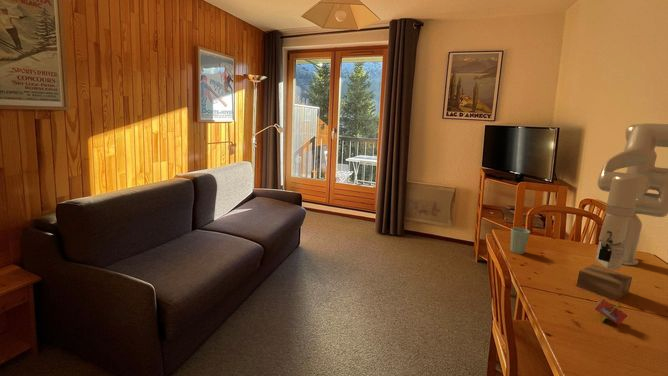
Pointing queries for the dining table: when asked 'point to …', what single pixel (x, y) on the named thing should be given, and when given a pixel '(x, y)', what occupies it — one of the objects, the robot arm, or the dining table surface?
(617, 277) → the walnut block
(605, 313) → the geometric puzzle
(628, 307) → the dining table surface
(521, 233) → the cup
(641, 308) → the dining table surface
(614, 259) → the medicine box
